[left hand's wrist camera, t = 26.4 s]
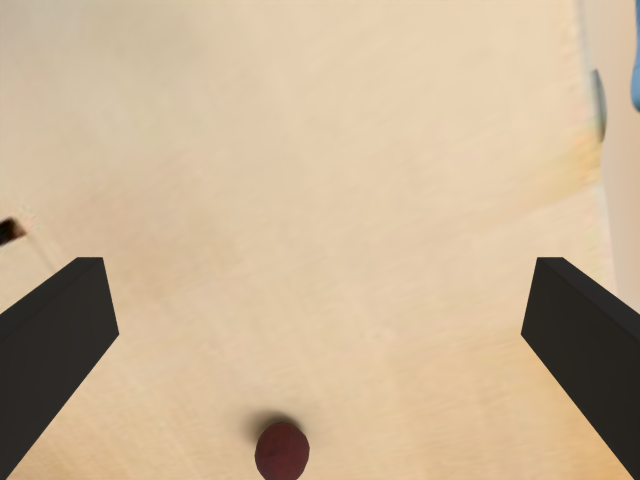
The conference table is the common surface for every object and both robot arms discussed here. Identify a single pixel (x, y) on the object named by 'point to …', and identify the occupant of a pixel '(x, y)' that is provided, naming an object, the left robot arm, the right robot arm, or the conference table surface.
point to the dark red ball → (282, 452)
